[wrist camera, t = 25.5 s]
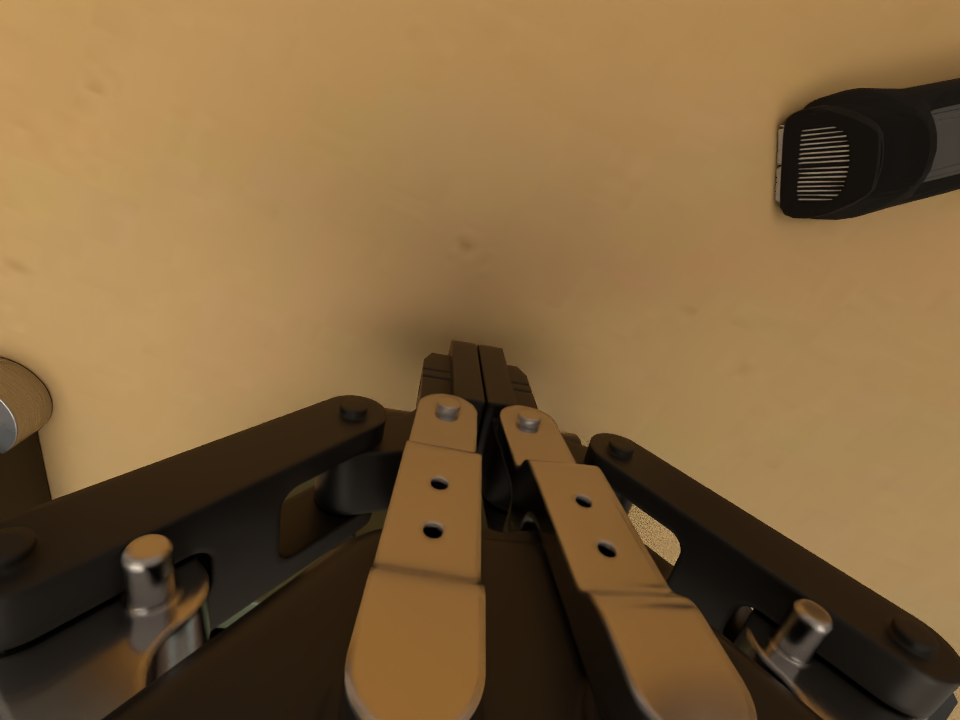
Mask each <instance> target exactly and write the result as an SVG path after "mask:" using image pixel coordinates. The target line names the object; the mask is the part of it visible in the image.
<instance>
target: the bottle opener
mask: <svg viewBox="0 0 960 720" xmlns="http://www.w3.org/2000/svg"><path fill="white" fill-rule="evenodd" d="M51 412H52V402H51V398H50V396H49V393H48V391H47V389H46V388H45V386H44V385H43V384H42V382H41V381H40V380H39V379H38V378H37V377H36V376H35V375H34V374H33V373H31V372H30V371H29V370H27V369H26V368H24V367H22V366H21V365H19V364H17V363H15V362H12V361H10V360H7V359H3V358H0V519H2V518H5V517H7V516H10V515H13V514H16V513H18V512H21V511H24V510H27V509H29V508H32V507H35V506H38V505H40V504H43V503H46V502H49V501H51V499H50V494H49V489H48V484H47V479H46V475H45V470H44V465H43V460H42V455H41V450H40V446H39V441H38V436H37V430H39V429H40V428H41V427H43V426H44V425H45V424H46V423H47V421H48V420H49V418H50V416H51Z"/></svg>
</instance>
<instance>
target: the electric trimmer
mask: <svg viewBox="0 0 960 720" xmlns="http://www.w3.org/2000/svg"><path fill="white" fill-rule="evenodd" d="M779 126H782V127H784V128H782V129H780V130H778V131H780V132H778V133H779V134H780V135H778V136H780V137H778V138H779V139H780V140H778V141H780V142H778V143H779V144H780V145H778V146H780V147H777V148H779V150H777V151H779V152H777V153H779V154H778V155H777V156H779V157H776V158H779V159H777V160H778V162H776V163H778V164H777V165H781V167H779V168H778V169H776V170H778V171H776V172H777V173H778V174H777V175H778V176H775V177H778V178H777V181H776V182H778V183H776V184H778V185H775V186H777V188H776V189H777V190H775V191H778V192H775V193H777V194H775V195H776V196H777V197H776V198H777V199H775V200H776V201H778V202H780V208H781V209H782V211H783V213H784V214H785V215H787V216H790V217H792V218H811V219H828V220H838V219H846V218H853V217H857V216H861V215H865V214H868V213H871V212H875V211H878V210H881V209H885V208H888V207H892V206H896V205H900V204H904V203H908V202H912V201H916V200H920V199H924V198H928V197H931V196H935V195H939V194H943V193H947V192H950V191H954V190H957V189H960V78H958V79H953V80H947V81H942V82H937V83H931V84H926V85H921V86H916V87H910V88H905V89H881V88H857V89H851V90H845V91H842V92H839V93H835V94H832V95H829V96H825V97H822V98H819V99H817V100H814V101H813V102H811V103H810V104H808V105H807V106H806V107H805V108H804V110H801V111H799V112H796V113H794V114H792V115H791V116H790V117H789V118H788V119H787V120H786V122H785V125H779Z"/></svg>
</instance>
